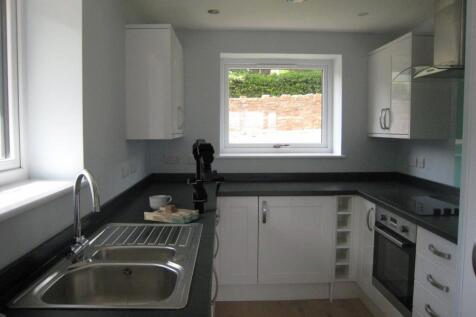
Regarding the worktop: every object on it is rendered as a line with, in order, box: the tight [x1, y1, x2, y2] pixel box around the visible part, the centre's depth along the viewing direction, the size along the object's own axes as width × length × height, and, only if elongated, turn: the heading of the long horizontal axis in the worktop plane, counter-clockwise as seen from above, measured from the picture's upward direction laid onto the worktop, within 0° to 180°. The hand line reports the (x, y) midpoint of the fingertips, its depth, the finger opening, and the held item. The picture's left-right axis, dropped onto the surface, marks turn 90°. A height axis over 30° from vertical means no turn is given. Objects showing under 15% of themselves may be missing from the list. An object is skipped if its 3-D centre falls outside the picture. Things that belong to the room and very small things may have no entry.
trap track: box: [143, 207, 200, 225], centre depth 209 cm, size 15×26×4 cm, turn 66°
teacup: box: [149, 194, 172, 210], centre depth 236 cm, size 14×11×8 cm
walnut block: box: [165, 204, 176, 214], centre depth 213 cm, size 4×4×4 cm
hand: (207, 197), depth 190 cm, fingers open, 9 cm apart
